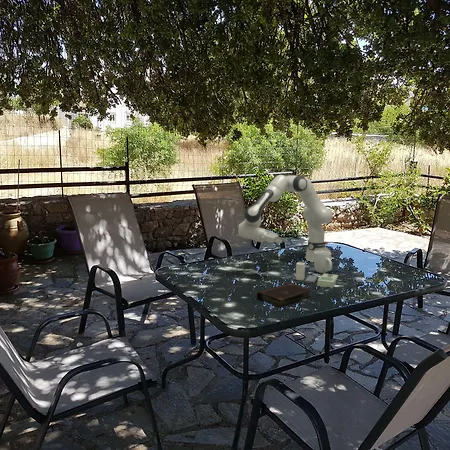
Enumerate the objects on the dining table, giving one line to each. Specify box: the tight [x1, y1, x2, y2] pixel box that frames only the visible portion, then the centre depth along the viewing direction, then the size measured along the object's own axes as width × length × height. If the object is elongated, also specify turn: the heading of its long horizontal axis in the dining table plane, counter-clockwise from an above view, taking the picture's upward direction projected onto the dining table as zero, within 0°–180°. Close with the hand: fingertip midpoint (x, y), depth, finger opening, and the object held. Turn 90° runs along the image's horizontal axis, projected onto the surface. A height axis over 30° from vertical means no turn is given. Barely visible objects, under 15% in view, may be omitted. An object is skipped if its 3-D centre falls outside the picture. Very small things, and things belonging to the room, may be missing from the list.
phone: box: [303, 274, 319, 285], centre depth 273 cm, size 13×6×1 cm, turn 158°
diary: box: [256, 282, 313, 308], centre depth 241 cm, size 19×25×5 cm
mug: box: [313, 251, 333, 274], centre depth 289 cm, size 15×11×13 cm
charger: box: [295, 261, 306, 281], centre depth 275 cm, size 4×4×11 cm
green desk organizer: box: [316, 273, 339, 289], centre depth 270 cm, size 22×9×4 cm, turn 158°
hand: (283, 241), depth 277 cm, fingers open, 8 cm apart
